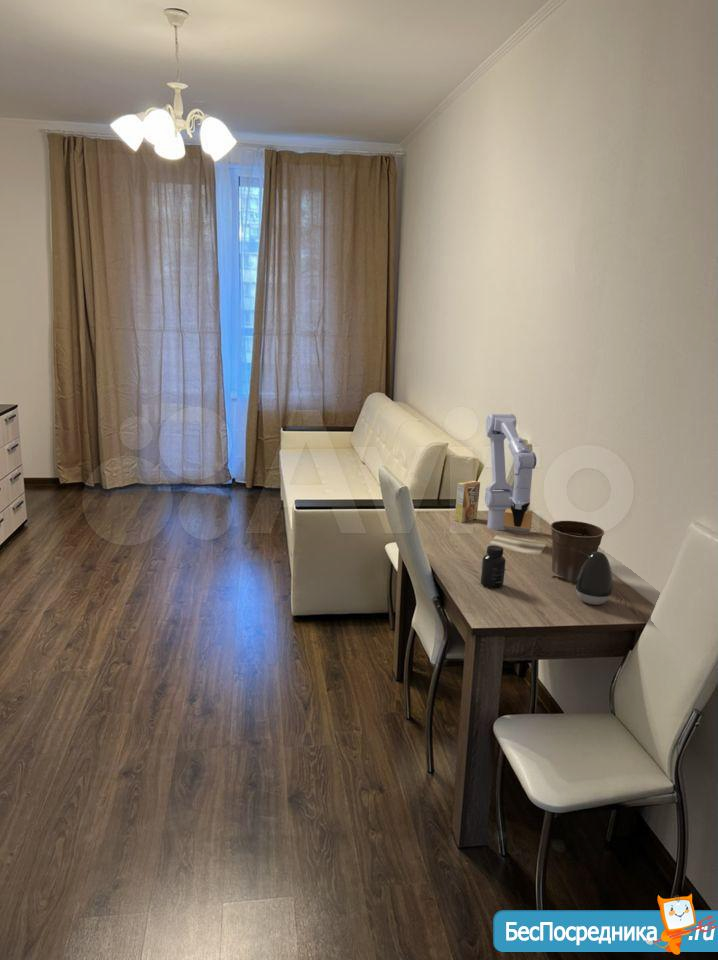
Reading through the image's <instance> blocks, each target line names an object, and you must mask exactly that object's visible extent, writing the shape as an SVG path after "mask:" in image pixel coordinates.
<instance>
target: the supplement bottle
mask: <svg viewBox="0 0 718 960" xmlns="http://www.w3.org/2000/svg"><path fill="white" fill-rule="evenodd" d="M487 546H488V545H487ZM487 546H486V554H484V556H483V557H482V561H481V563H482V564H481V574H480V584H482V585H483V586H482V585H481V586H482V587H484V586H485V587H484V588H486V587H488V588H487V589H490V588H499V589H501V588H503V587H504V583H505V582H504V581H505V580H504V579H505V573H506V572H505V570H506V558H505V557H504V550H503V548H502V547H500V546H496V545H491V546H488V547H487ZM500 587H501V588H500Z"/></svg>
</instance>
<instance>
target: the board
mask: <svg viewBox="0 0 718 960" xmlns="http://www.w3.org/2000/svg"><path fill="white" fill-rule="evenodd" d="M547 544H548V542H546V541H540V540H539V541H538V540H534V539H527V538H521V537H515V536H510V535H509V536H508V535H504V534H496V535H495V536H494V537H493V538H492V540H491V541H490V542H489V543H488V544H487V545H486V548H487V547H488V546H491V545H496V546H500V547H502V548H503V551H509V552H515V553H520V554H521V553H522V554H526V555H533V556H539V557H540V556H541V554H542V552H543V550H544V549H545V546H546V545H547Z"/></svg>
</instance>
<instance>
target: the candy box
mask: <svg viewBox="0 0 718 960" xmlns="http://www.w3.org/2000/svg"><path fill="white" fill-rule="evenodd" d="M480 487H481V482H479V481H477V480H467V481H461V482H458V483H457V489H456V498H455V499H456V501H455V510H454V511H455V512H454V521H455V520H456V521H455V522H458V521H460V522H459V523H461V522H463V523H466V522H465V521H467V522H470V521H469V520H472V521H474V520H473V519H476V518H478V508H479V498H480V489H481V488H480ZM476 520H477V519H476Z"/></svg>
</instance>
